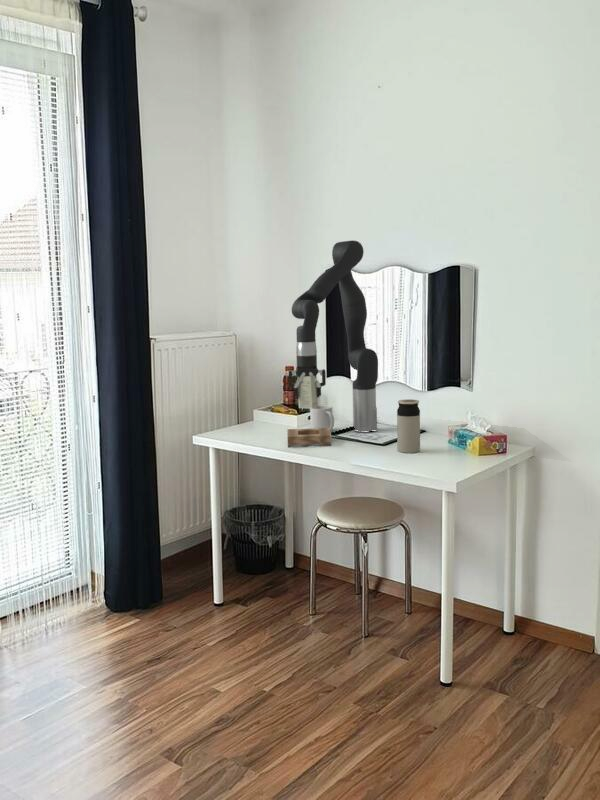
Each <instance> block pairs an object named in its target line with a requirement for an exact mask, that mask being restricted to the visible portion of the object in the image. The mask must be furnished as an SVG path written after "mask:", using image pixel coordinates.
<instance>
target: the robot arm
mask: <svg viewBox="0 0 600 800" xmlns="http://www.w3.org/2000/svg"><path fill="white" fill-rule="evenodd" d="M331 253H332V254H331V255H332V261H333V265H332V266H331V267H330V268H328V269H327V270H325V271H324V272H323V273H321V274H320V275H319V276H318V277H317V278H316V280H314V282H313V283H312V285H311V286H310V287H309V289H307V290H306V291H305V292H303V293H302V294H301V295H300V296H298V297H297V298H296V299H295V300H294V301H293V303H292V304H291V305H292V306H291V313H292V316H293V317H294V318H295V319H297V320H298V319H299V320H303V323H302V325H299V326H297V328H296V347H295V350H296V351H295V354H296V370H288V386H289V387H291V388H293V390H294V393H293V395H294V397H295V399H298V385H299V384H300V382H301V381H302V379H303V377H304V376H314V379H315V380H314V382H315V383H316V385H317V398H320V397H321V396H322V387H324V386H326V380H327V379H326V377H327V376H326V369H325V368H322V369H318V357H317V356H318V355H317V353H318V350H317V343H316V341H317V339H316V328H317V327H318V326H317V325H318V321H319V317H320V307H319V304H322V303H323V302H324V301H325V300H326V299H327V297H328V296H329V294H330V293H331V292H333V289H334V288H335V287H336V286H337V284H338V287H339V288H338V289H339V292H340V297H341V298H340V299H341V306H342V312H343V318H344V324H345V332H346V337H347V338H346V339H347V353H348V355H347V356H348V363H349V365H350V367H351V368H352V369H354V370H356V378H355V379H354V380H353V381H352V420H353V422H352V423H353V425H352V426H353V427H354V428H355V430H358V431H372V430H377V431H378V413H377V412H378V411H377V410H378V408H377V394H376V393H377V388H376V387H377V383H378V379H379V378H378V377H379V376H378V375H379V358H378V355H377V353H376V352H375V350H374V349H371V348H367V346H366V341H365V333H364V332H365V327H366V323H367V317H368V310H367V303H366V297H365V295H364V292H363V291H362V290H361V288H360V287H359V285H358V284H357V282H356V280H355V278H354V277H353V272H352V270H353V269H354V268H355V267H356V266H357V265H358V264H359V263H360V262H361V261H362V259H363V257H364V253H365V252H364V248H363V245H362V243H361V242H360V241H357V240H345V241H344V240H343V241H338V242H336V243H334V244H333V246H332V251H331ZM318 374H319V375H320V376H321V382H320V381H319V379H318V378H317V379H316V378H315V377H317V375H318ZM295 375H297V376H298V377H299V379H298V380H297V379H296V382H295V383H293V377H294V376H295Z"/></svg>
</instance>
